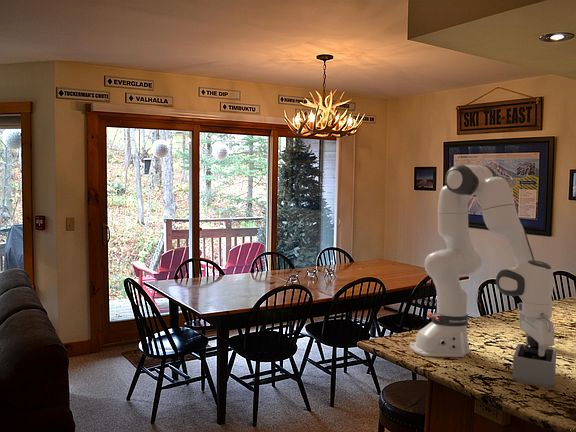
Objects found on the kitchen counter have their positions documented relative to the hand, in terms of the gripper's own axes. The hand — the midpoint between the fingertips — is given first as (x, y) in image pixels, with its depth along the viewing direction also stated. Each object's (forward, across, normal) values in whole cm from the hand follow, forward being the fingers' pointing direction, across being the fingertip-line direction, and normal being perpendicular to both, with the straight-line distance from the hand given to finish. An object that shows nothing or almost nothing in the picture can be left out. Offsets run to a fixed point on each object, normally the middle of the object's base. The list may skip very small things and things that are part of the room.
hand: (535, 351), depth 171 cm
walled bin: (+9, 0, 0) cm, 9 cm away
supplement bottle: (+8, 0, 0) cm, 8 cm away
